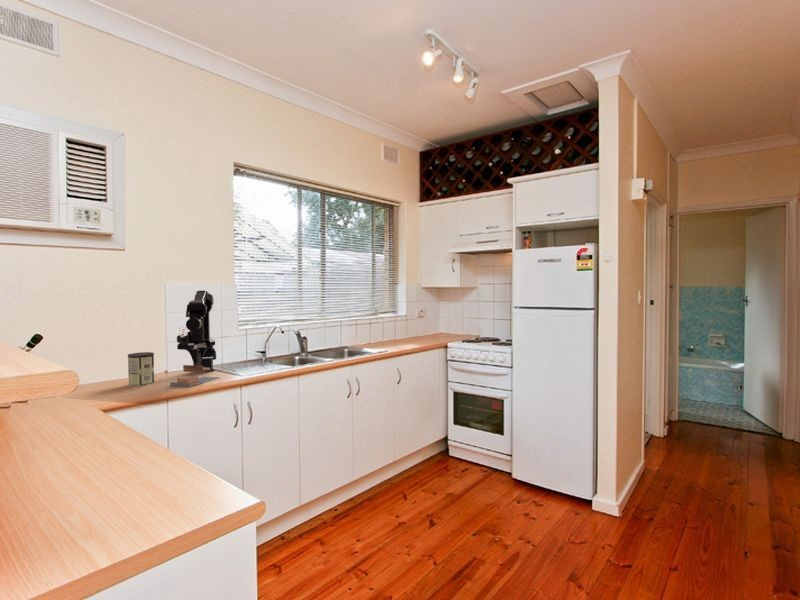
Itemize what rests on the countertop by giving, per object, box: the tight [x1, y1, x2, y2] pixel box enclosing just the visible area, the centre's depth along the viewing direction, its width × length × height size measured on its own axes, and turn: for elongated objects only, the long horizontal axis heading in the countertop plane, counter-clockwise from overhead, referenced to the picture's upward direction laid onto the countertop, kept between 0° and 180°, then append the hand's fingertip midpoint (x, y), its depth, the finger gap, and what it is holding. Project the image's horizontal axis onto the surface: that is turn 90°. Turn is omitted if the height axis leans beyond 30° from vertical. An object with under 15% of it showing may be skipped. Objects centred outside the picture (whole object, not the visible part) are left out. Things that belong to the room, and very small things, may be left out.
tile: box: [176, 375, 199, 385], centre depth 202 cm, size 6×6×3 cm
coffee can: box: [127, 351, 155, 388], centre depth 203 cm, size 10×10×14 cm
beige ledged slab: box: [182, 353, 210, 373], centre depth 207 cm, size 6×10×8 cm, turn 75°
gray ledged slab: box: [169, 376, 220, 388], centre depth 207 cm, size 22×10×2 cm, turn 165°
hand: (197, 362), depth 207 cm, fingers closed on beige ledged slab, 2 cm apart
